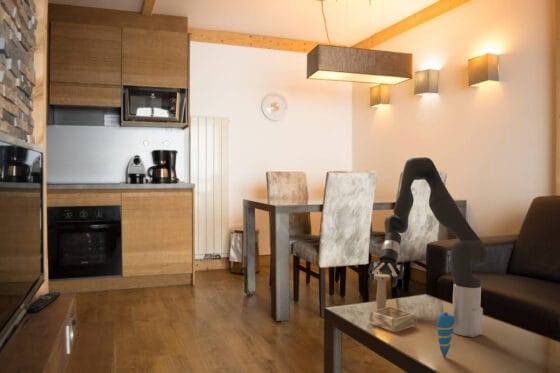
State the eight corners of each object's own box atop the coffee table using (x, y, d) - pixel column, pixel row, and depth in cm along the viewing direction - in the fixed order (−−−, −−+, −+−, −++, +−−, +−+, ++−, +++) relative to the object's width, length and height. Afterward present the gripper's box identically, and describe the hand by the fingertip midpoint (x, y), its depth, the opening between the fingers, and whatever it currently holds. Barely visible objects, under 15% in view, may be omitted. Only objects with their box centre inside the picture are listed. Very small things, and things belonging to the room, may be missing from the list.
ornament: (449, 354, 145) (451, 306, 145) (456, 360, 140) (457, 311, 140) (433, 353, 145) (434, 306, 145) (439, 360, 140) (441, 311, 140)
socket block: (414, 326, 172) (414, 313, 172) (395, 332, 165) (395, 319, 165) (388, 318, 181) (389, 306, 181) (369, 323, 174) (370, 311, 174)
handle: (372, 309, 192) (373, 273, 191) (387, 310, 191) (389, 274, 191) (373, 313, 187) (374, 276, 187) (389, 313, 187) (390, 277, 186)
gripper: (372, 246, 201) (364, 277, 191) (405, 249, 195) (399, 281, 185) (375, 256, 206) (367, 287, 196) (407, 259, 200) (401, 291, 190)
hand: (382, 284), depth 191 cm, fingers open, 8 cm apart
